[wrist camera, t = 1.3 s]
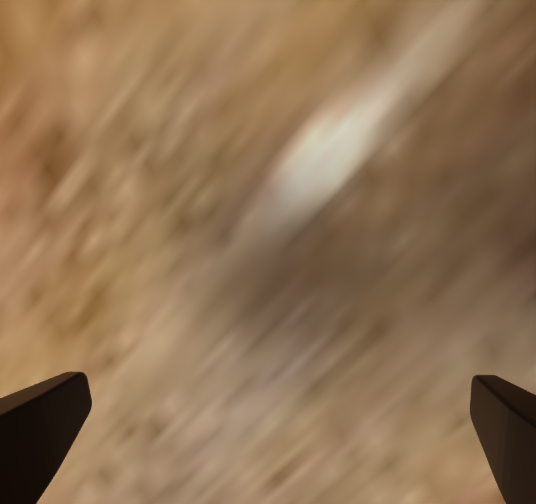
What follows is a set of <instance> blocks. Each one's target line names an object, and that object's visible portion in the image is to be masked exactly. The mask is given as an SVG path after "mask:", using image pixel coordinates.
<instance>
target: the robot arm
mask: <svg viewBox="0 0 536 504" xmlns="http://www.w3.org/2000/svg"><path fill="white" fill-rule="evenodd" d="M91 407H92V399H91V394H90V389H89V384H88V379H87V376H86V374H85V373H83V372H66V373H63V374H60V375H58V376H55V377H53V378H50V379H48V380H45V381H43V382H40V383H38V384H35V385H33V386H30V387H28V388H25V389H23V390H20V391H18V392H15V393H13V394H10V395H8V396H5V397H3V398H0V504H36V503H37V502H38V500H39V499H40V497H41V496H42V494H43V493H44V491H45V490H46V488H47V487H48V485H49V484H50V482H51V481H52V479H53V477H54V476H55V474H56V473H57V471H58V469H59V468H60V466H61V464H62V462H63V461H64V459H65V457H66V455H67V453H68V451H69V450H70V448H71V446H72V444H73V442H74V440H75V439H76V437H77V435H78V433H79V431H80V429H81V428H82V426H83V424H84V422H85V420H86V418H87V417H88V415H89V413H90V410H91ZM470 415H471V419H472V422H473V425H474V427H475V430H476V432H477V435H478V437H479V440H480V442H481V445H482V447H483V450H484V453H485V455H486V458H487V460H488V463H489V465H490V468H491V470H492V473H493V475H494V478H495V480H496V483H497V485H498V487H499V490H500V492H501V494H502V496H503V498H504V500H505V502H506V504H536V395H534V394H532V393H530V392H528V391H526V390H524V389H522V388H520V387H518V386H516V385H514V384H512V383H510V382H508V381H506V380H504V379H502V378H500V377H498V376H495V375H475V376H474V377H473V379H472V384H471V400H470Z"/></svg>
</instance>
